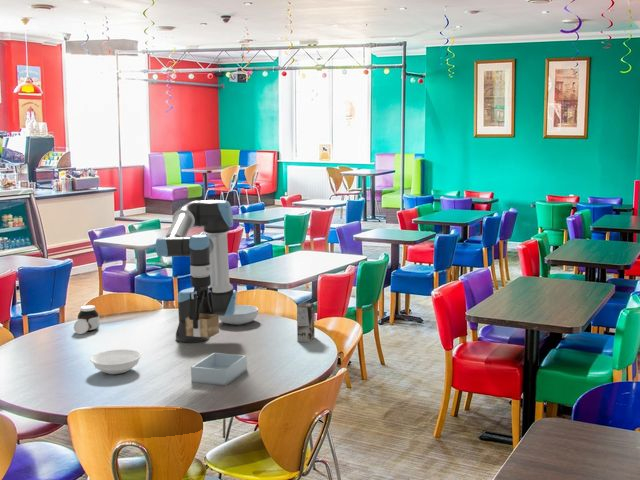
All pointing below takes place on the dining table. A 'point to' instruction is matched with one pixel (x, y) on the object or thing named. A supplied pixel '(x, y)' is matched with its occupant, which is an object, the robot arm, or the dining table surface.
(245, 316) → the serving bowl
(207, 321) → the wooden crate
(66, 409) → the dining table surface
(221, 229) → the robot arm
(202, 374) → the plastic tote
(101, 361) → the bowl
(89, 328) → the spread jar
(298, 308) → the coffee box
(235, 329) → the dining table surface
